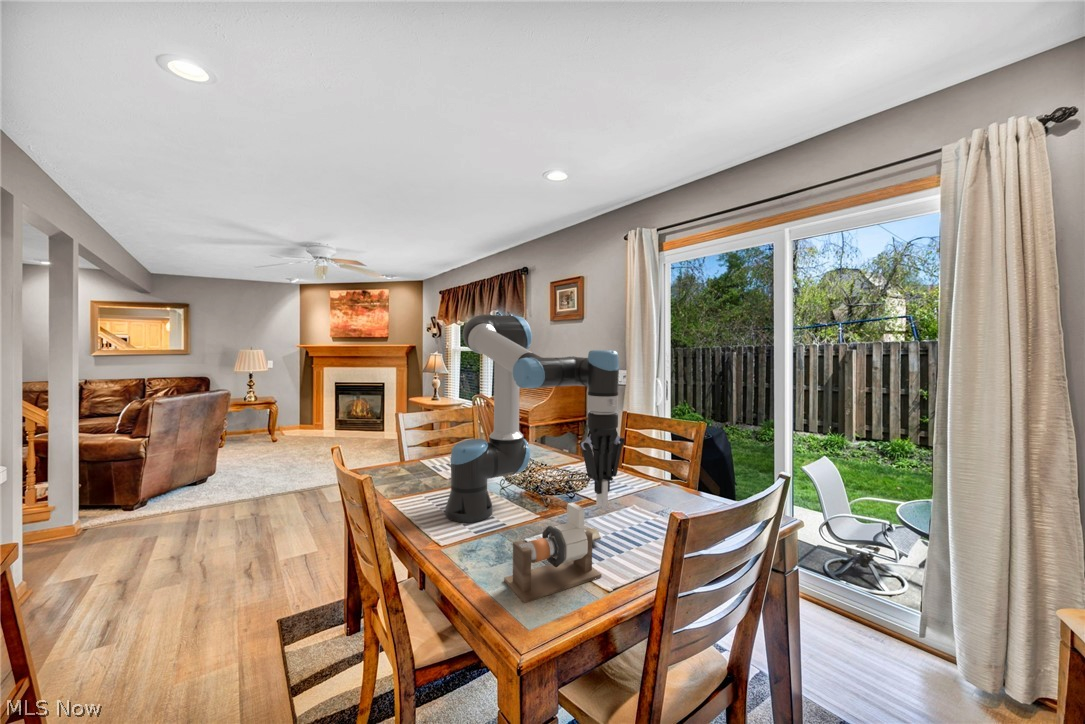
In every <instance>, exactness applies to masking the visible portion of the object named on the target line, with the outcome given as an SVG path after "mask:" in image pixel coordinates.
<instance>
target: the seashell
mask: <svg viewBox="0 0 1085 724" xmlns="http://www.w3.org/2000/svg"><path fill="white" fill-rule="evenodd" d="M583 528H585V529H587V530H588V531H590V532H591V533H593V534H592V543H593V542H594V541H599V540H600V541H601V539H602V537H601V535H600V533H599V530H598V528H592V527H589V526H587V525H585V524H584V527H583Z"/></svg>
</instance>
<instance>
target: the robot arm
mask: <svg viewBox="0 0 1085 724" xmlns="http://www.w3.org/2000/svg"><path fill="white" fill-rule="evenodd" d="M532 333H533V332H532V329H531V326H530V324H529V323H528V321H527V320H526V319H525V318H523V317H522V316H516V315H501V314H498V315H497V314H479V315H476V316H473V317H472V318H470V319H469V320H468V321H467V322H466V323H465V325H464V327H463V330H462V339H463V341H464V344H465V345H466V347H467V348H468V349H470V350H471V351H472V352H473V353H476V354H479V355H484V356H485V357H487V358H489V359H490V360H492V361H493V362H494V370H493V371H494V377H493V379H494V380H493V381H494V382H493V385H494V386H493V390H494V392H493V430H492V432H491V433H490V434H489V438H488V439H489V440H488V441H489V442H488V441H487V440H486V439H483V438H475V439H473V438H470V439H466V440H462V441H459V442H457V443H456V444H454V446H453V447H452V448H451V451H450V452H451V454H450V460H449V461H450V493H449V494H448V495H449V496H448V499H447V502H446V505H445V517H446V518H447V519H448V520H450V521H453V522H457V523H475V522H481V521H483V520H486V519H488V518H490V517H491V516H492V515H493V503H492V500H491V496H490V493H489V490H488V480H490V479H494V478H498V477H504V476H511V475H512V476H513V475H515V474H519V473H522V472H524V470H525V469H527V467H528V465H529V463H530V458H531V449H530V447H529V443H528V441H527V440H526V439H525V438H524V434H523V433H522V432H521V431H520V389H530V390H534V389H544V388H553V387H571V386H573V387H574V386H578V387H587V411H589V412H588V413H587V427H588V433H587V435H586V436H587V438H585V440H584V441H582V440H581V441H579V444H578V445H579V447H580V449H581V450H582V454H583V460H584V465H585V471H586V474H587V478H589V479H592V480H593V481H594V485H593V486H594V489H593V490H594V491H593V492H594V493H595V494H596V495H595V497H596V500H595V501H596V504H595V505H596V506H599V507H601V508H602V509H603V508H608V505H609V504H608V503H609V492H610V491H611V488H610V487H611V482H612V481H613V480H614V478H613V477H617V476H618V475H617V474H618V470H619V464H620V459H621V454H622V450H623V449H622V448H623V446H624V444H625V443H626V438H624V437H621V436H620V435H619V434H618V431H617V429H618V428H619V414H618V411H619V377H620V376H619V374H620V372H619V371H620V363H619V353H618V352H617V351H616V350H609V349H608V350H605V349H603V350H597V349H596V350H594V349H593V350H590V351H589V352H588V355H587V357H580V356H579V357H578V356H564V357H563V356H562V357H542V356H539V355H538V354H536V353H535V352H532V351H530V350H529V348H530V347H531V344H532V342H533V334H532Z"/></svg>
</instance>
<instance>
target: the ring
mask: <svg viewBox="0 0 1085 724" xmlns="http://www.w3.org/2000/svg"><path fill="white" fill-rule="evenodd" d="M550 533H551V534H552V535H554V537H555V539H556V542H557V545H558V558H557V559H555V558H553V557H550V558H548V559H546V560H547V561H548V563H550V564H552V565H553V566H554V567H558V566H559V565H560V564H561V563H562V562H563V561H564V543H563V541H562V538H561V536H560V533H559V531H557V530H556V529H555V528H553V526H552V525H547V527H546V528H545V529H544V530H543V532H542V533H541V534H542V535H541V536H542V537H541V538H547V537H549V534H550Z"/></svg>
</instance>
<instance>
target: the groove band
mask: <svg viewBox="0 0 1085 724" xmlns="http://www.w3.org/2000/svg"><path fill="white" fill-rule="evenodd" d="M528 542H531V543H532V544H533V545H534V547H535V550H536V561H535V562H533V563H532V564H535V563H539V562H542V561H546V560H547V559H548V558H549V557H550V547H549V544H548V542H547V540H546V539H545V538H542V537H541V538H536V539H533V540H529V541H528Z"/></svg>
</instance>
